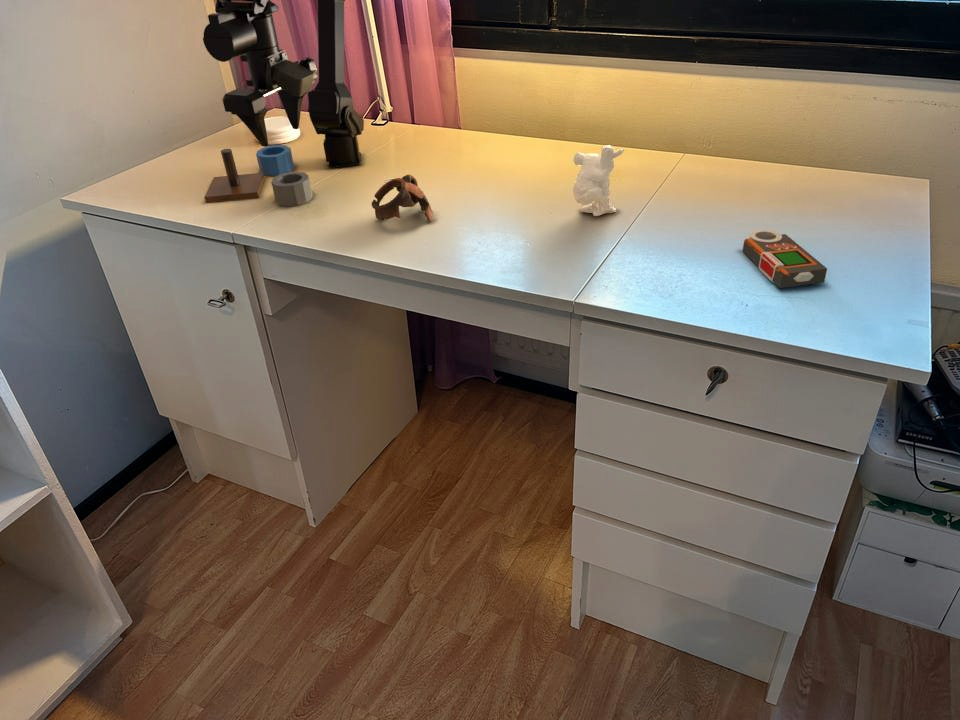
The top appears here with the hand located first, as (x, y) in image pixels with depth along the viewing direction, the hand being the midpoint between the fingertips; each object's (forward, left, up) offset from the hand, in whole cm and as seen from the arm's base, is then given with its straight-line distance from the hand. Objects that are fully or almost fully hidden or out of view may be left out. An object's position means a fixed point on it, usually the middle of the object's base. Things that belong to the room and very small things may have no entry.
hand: (280, 137), depth 132 cm
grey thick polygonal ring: (0, 0, -12) cm, 12 cm away
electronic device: (-76, +42, -12) cm, 88 cm away
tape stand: (+12, -7, -12) cm, 18 cm away
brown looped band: (-21, +13, -12) cm, 27 cm away
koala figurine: (-54, +18, -12) cm, 58 cm away
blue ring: (+5, -16, -12) cm, 21 cm away
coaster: (+7, -36, -12) cm, 39 cm away
